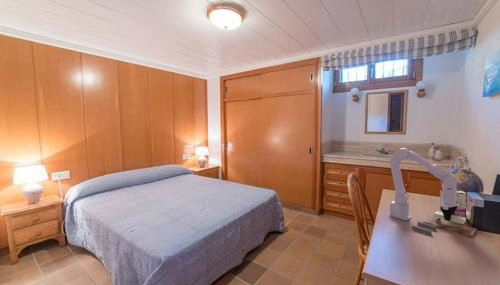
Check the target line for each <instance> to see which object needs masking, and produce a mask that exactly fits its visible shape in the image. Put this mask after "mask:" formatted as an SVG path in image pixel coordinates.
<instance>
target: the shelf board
mask: <svg viewBox="0 0 500 285" xmlns="http://www.w3.org/2000/svg"><path fill="white" fill-rule="evenodd" d="M433 218H441V220H445V219H444V215H443V213H442V212H440V211H438V210H437V211H436V212H434V214H433ZM449 222H453V223H457V224H459V223H461V224H462V225H465V224H466V223H467V220H466V218H464V217H459V216H455V215H452V216H451V220H450V221H449Z"/></svg>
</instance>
